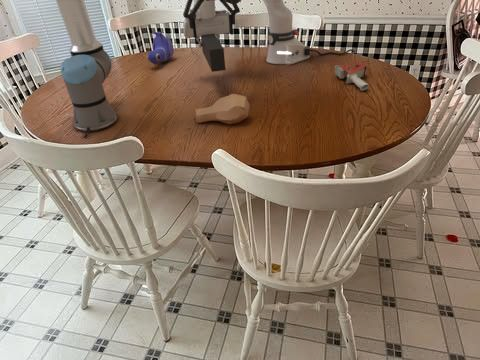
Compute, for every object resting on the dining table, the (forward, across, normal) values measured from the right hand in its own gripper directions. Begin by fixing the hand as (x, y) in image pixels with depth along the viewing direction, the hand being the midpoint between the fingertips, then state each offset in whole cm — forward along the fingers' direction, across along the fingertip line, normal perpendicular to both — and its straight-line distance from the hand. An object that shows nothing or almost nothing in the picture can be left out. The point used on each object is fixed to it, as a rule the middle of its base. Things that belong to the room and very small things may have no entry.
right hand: (208, 46), depth 157 cm
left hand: (-10, +1, +24) cm, 27 cm away
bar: (+3, 0, +11) cm, 11 cm away
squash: (+14, +3, +45) cm, 47 cm away
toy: (+14, +22, -30) cm, 40 cm away
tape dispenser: (+15, -57, +26) cm, 64 cm away
